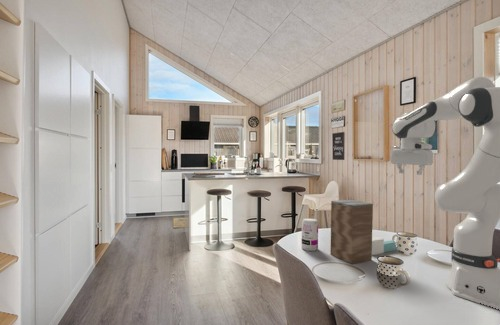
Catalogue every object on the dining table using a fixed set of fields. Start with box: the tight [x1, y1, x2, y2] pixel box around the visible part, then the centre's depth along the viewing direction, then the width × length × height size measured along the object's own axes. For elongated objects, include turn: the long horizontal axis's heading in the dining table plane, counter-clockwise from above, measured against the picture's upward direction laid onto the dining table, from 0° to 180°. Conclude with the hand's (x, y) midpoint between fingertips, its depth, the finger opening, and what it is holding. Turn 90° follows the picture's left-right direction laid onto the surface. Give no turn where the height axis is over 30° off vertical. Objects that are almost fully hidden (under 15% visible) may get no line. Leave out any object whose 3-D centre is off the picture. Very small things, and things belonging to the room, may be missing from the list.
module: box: [372, 236, 398, 256], centre depth 149 cm, size 5×19×7 cm, turn 115°
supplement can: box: [301, 217, 319, 252], centre depth 152 cm, size 8×8×15 cm
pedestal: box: [329, 199, 374, 265], centre depth 140 cm, size 14×12×26 cm
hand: (410, 173), depth 145 cm, fingers open, 8 cm apart
